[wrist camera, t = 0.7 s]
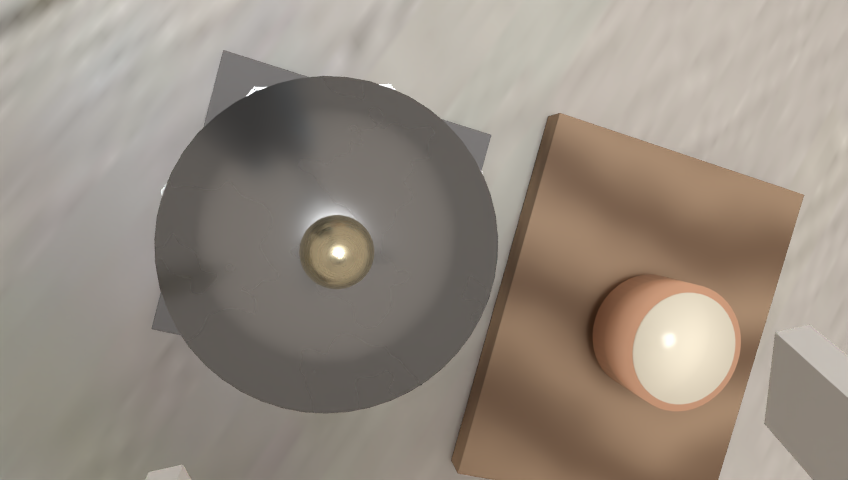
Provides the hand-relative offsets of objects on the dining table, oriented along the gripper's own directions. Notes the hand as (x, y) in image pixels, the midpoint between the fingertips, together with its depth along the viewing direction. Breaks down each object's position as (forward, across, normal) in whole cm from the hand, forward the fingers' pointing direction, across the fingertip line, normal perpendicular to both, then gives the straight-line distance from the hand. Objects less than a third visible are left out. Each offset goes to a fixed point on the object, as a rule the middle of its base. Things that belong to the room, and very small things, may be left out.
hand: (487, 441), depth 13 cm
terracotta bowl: (+16, +10, -11) cm, 22 cm away
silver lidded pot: (+17, -5, -2) cm, 18 cm away
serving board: (+17, +10, -12) cm, 23 cm away
